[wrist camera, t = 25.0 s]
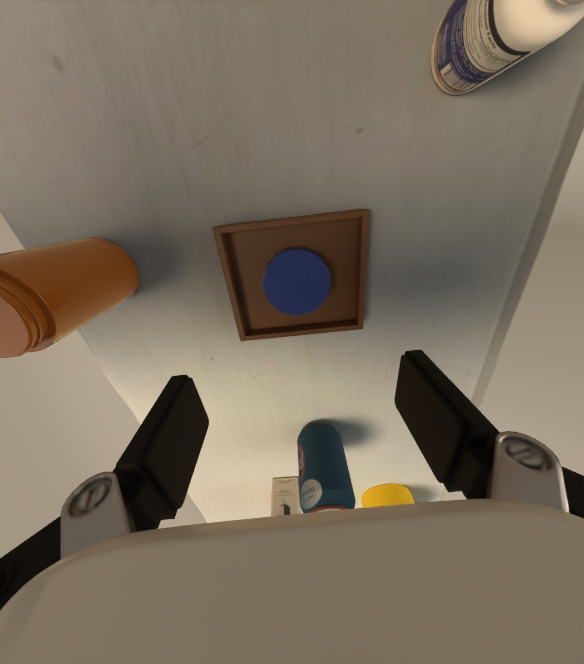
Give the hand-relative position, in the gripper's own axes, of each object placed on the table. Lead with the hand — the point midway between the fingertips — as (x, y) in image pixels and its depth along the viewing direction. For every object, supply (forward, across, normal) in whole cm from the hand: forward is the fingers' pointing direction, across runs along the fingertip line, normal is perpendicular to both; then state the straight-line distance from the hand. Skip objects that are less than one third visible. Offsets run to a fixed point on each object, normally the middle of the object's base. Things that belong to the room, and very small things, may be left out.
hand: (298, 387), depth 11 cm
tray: (+17, -1, 0) cm, 17 cm away
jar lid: (+15, -1, 0) cm, 15 cm away
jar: (+18, +19, -3) cm, 26 cm away
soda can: (+17, -2, +26) cm, 31 cm away
